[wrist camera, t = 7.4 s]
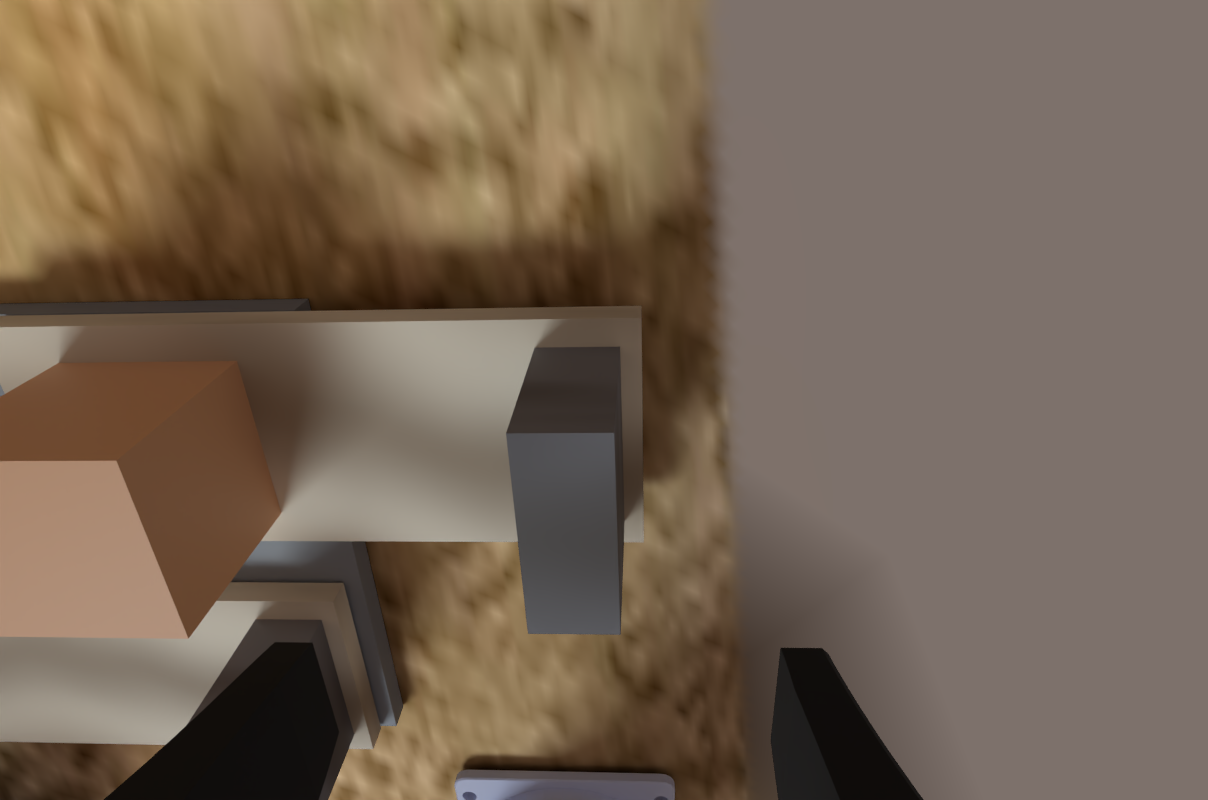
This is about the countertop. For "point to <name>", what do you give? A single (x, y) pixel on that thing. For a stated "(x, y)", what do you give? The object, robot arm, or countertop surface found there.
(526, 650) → the countertop surface
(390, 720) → the lane board
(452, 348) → the near strip
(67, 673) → the far strip
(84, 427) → the block
